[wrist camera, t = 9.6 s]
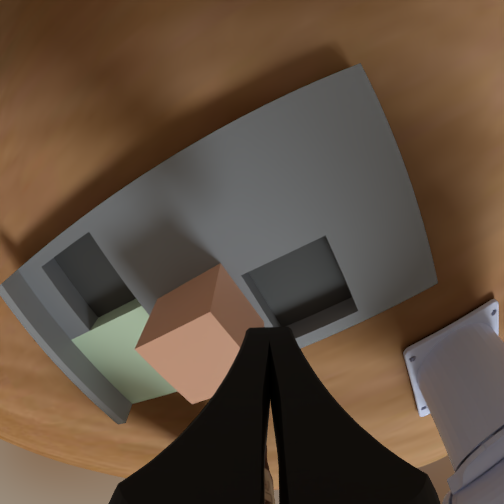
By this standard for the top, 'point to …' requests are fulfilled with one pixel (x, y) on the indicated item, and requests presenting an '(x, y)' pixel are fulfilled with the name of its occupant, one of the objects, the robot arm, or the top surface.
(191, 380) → the block
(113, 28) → the top surface
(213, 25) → the top surface
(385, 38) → the top surface
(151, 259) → the board
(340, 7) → the top surface
